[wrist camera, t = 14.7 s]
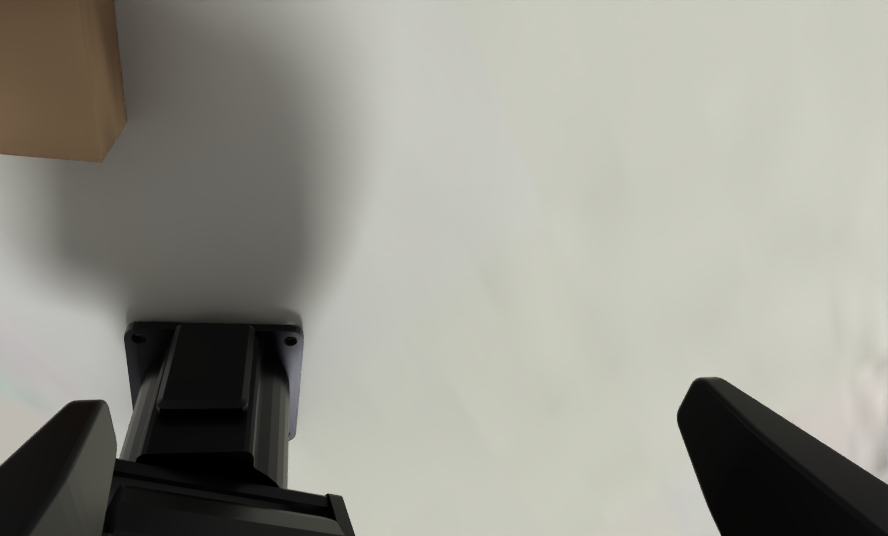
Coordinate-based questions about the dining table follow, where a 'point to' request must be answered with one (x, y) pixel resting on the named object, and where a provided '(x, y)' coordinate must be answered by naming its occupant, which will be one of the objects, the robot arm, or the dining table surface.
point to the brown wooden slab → (60, 79)
